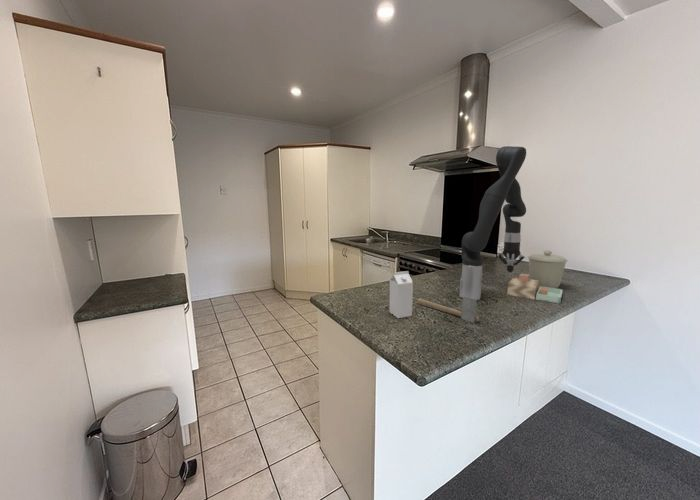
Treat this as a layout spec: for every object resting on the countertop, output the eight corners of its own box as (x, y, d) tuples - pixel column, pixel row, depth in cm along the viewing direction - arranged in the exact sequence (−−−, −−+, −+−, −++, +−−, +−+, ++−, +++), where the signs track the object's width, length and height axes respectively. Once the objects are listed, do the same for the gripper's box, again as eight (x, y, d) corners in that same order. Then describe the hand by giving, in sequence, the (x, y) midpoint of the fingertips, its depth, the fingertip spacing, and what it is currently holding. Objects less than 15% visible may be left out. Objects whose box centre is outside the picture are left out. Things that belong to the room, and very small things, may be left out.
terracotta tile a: (540, 289, 134) (547, 290, 132) (541, 287, 138) (548, 288, 136) (539, 297, 135) (546, 298, 133) (540, 294, 139) (547, 295, 137)
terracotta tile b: (518, 280, 145) (519, 275, 144) (520, 278, 149) (520, 273, 148) (527, 281, 142) (528, 276, 142) (529, 279, 146) (529, 274, 146)
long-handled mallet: (418, 303, 132) (480, 322, 108) (415, 304, 130) (477, 324, 107) (418, 284, 130) (481, 300, 107) (415, 285, 129) (478, 301, 106)
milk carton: (389, 312, 119) (389, 270, 116) (403, 310, 122) (404, 269, 119) (397, 318, 113) (398, 274, 110) (412, 316, 115) (413, 272, 112)
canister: (531, 280, 166) (534, 246, 163) (568, 287, 152) (572, 250, 149) (520, 286, 155) (523, 250, 151) (559, 293, 141) (563, 254, 138)
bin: (535, 299, 133) (536, 293, 133) (539, 291, 145) (540, 286, 145) (560, 303, 127) (560, 297, 127) (561, 295, 139) (562, 289, 139)
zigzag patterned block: (507, 294, 141) (507, 283, 140) (512, 287, 153) (513, 277, 152) (534, 299, 133) (535, 287, 132) (538, 291, 145) (539, 280, 144)
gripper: (496, 241, 148) (495, 271, 151) (525, 242, 139) (522, 275, 142) (500, 239, 154) (498, 269, 156) (527, 240, 145) (525, 272, 148)
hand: (510, 272), depth 149 cm, fingers closed
